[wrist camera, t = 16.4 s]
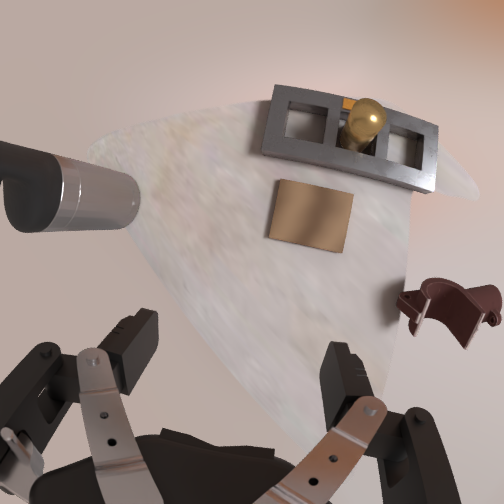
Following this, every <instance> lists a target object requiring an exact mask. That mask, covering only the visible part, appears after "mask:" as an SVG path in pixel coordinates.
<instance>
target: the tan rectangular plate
mask: <svg viewBox="0 0 504 504" xmlns="http://www.w3.org/2000/svg"><path fill="white" fill-rule="evenodd" d="M353 196H354V194H350V193H346V192H342V191H337V190H333V189H328V188H324V187H319V186H315V185H310V184H305V183H300V182H295V181H290V180H285V179H280V184H279V189H278V194H277V199H276V204H275V209H274V214H273V219H272V224H271V229H270V234H269V238H273V239H278V240H283V241H288V242H292V243H297V244H302V245H306V246H311V247H315V248H320V249H325V250H329V251H334V252H338V253H342V252H343V248H344V243H345V238H346V233H347V228H348V223H349V218H350V213H351V208H352V202H353Z"/></svg>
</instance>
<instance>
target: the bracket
mask: <svg viewBox="0 0 504 504" xmlns="http://www.w3.org/2000/svg"><path fill="white" fill-rule="evenodd" d="M396 306H397V308H398V309H399V310H401V311H402V312H403V313H404V314H405V315H406V316H408V317H409V318H410V320H409V324H408V326H409V330H410V332H411V334H412V335H413V336H414V337H416V336H417V334H418V331H419V329H420V326H421V324H422V321H423V319H424V318H432V319H436V320H438V321H440V322H442V323H443V324H445V325H446V326H447V328H448V329H449V330H450V331H451V333H452V334H453V335H454V336H455V338H456V339H457V340H458V342H459V343H460V344H461V346H462V347H463V348H464V349H465V350H467V349H468V347H469V345H470V343H471V342H472V340H473V338H474V336H475V334H476V332H477V331H478V328H479V326H480V324H481V323H483V322H486V321H487V322H488V324H489V325H490V326H492V327H494V326H497V325H499V324H500V323H501V320H502V319H501V314H500V311H501V308H502V297H501V293H500V291H499V290H498V288H497V287H495V286H494V285H485V286H480V287H474V288H469V289H464V288H463V287H462V286H460V285H459V284H457V283H455V282H452V281H450V280H447V279H443V278H429V279H426V280H425V281H423V282H422V284H421V288H420V290H414V291H406V292H401V293H400V294H399V297H398V300H397V304H396Z"/></svg>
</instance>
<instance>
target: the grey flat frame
mask: <svg viewBox="0 0 504 504" xmlns="http://www.w3.org/2000/svg"><path fill="white" fill-rule="evenodd" d="M356 101H358V100H356V99H352V98H348V97H343V96H339V95H334V94H330V93H325V92H319V91H314V90H309V89H302V88H297V87H291V86H283V85H275V86H274V91H273V95H272V100H271V105H270V109H269V114H268V119H267V124H266V128H265V133H264V138H263V143H262V147H261V151H262V153H263V155H264V156H270V157H276V158H282V159H287V160H292V161H298V162H303V163H308V164H313V165H317V166H322V167H327V168H331V169H335V170H340V171H344V172H348V173H352V174H356V175H360V176H364V177H368V178H372V179H376V180H379V181H383V182H387V183H390V184H394V185H397V186H401V187H404V188H407V189H411V190H414V191H417V192H420V193H424V194H427V193H431V192H434V187H435V178H436V166H437V152H438V126H437V125H434V124H432V123H429V122H426V121H424V120H421V119H418V118H416V117H413V116H410V115H407V114H404V113H401V112H398V111H395V110H392V109H388V108H385V107H383V108H384V110H385V112H386V116H387V120H386V123H385V125H384V126H383V128H382V129H381V130H380V131H379V132H378V134H377V135H376V136H375V137H374V138H373V140H372V147H371V155H366V154H363V153H359V152H355V151H351V150H347V149H342V148H338V147H335V146H336V139H337V133H338V126H339V119H343V120H347V118H348V116H349V114H350V112H351V109H352V107H353V105H354V103H355V102H356ZM289 109H292V110H298V111H304V112H309V113H314V114H319V115H324V116H327V118H326V124H325V131H324V137H323V143H322V144H320V143H315V142H310V141H305V140H300V139H294V138H289V137H284V135H285V130H286V125H287V120H288V114H289ZM389 132H391V133H394V134H398V135H401V136H404V137H407V138H410V139H413V140H416V141H417V144H416V157H415V167H414V168H411V167H408V166H405V165H402V164H398V163H395V162H392V161H388V160H386V158H387V149H388V139H389Z"/></svg>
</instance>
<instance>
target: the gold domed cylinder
mask: <svg viewBox="0 0 504 504" xmlns="http://www.w3.org/2000/svg"><path fill="white" fill-rule="evenodd" d="M386 120H387V116H386V112H385V110H384V108H383V107H382V106H381V105H380V104H379V103H378V102H377V101H375V100H373V99H369V98H363V99H360V100H358V101H356V102H355V103H354V105H353V107H352V109H351V112H350V114H349V116H348V118H347V121H346V123H345V125H344V127H343V130H342V132H341V134H340V143H341V146H342V147H343V148H344V149H347V150H351V151H355V152H359V153H360V152H362V151H363V150H364V149H365V148H366V147H367V146H368V144H369V143H370V142H371V141H372V140H373V138H374V137H375V136H376V135H377V134H378V132H379V131H380V130H381V129H382V128H383V126H384V125H385V123H386Z"/></svg>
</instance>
